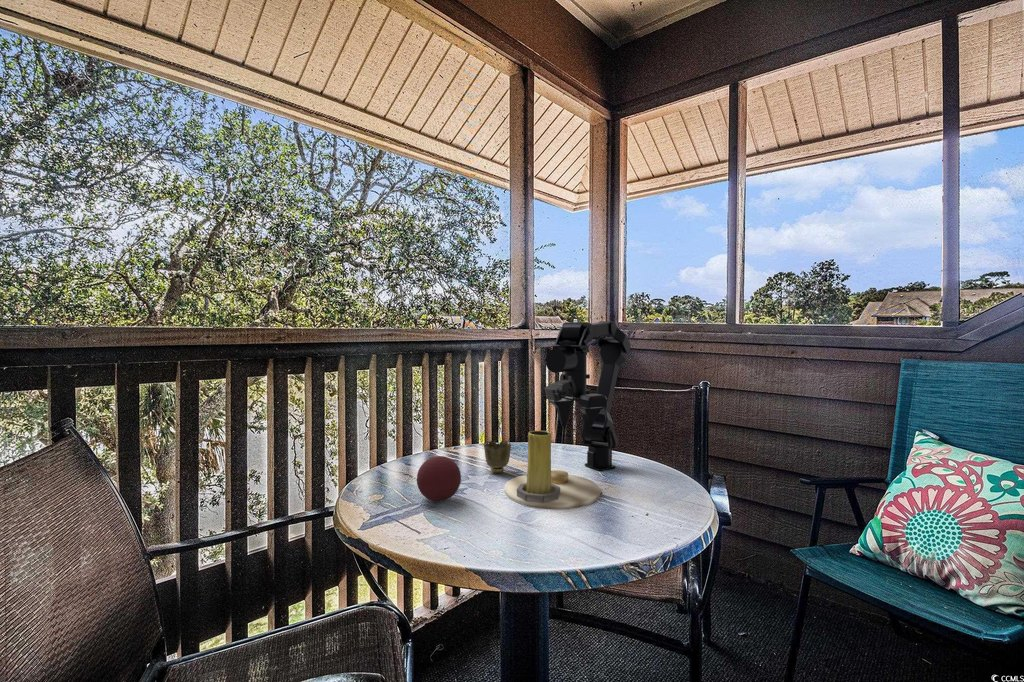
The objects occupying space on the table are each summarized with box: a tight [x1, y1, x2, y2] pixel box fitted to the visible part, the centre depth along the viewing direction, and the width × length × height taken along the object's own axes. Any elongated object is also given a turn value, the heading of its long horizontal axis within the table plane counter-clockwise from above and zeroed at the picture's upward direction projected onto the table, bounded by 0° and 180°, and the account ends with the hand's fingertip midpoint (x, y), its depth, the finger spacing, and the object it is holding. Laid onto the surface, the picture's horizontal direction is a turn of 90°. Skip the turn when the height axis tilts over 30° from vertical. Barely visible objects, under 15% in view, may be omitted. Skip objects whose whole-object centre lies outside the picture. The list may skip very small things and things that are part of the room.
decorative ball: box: [416, 455, 462, 502], centre depth 108 cm, size 10×10×10 cm
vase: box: [526, 430, 552, 494], centre depth 109 cm, size 6×6×14 cm
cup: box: [483, 440, 512, 475], centre depth 130 cm, size 8×7×8 cm
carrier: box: [504, 469, 601, 510], centre depth 115 cm, size 23×23×3 cm
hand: (574, 430), depth 123 cm, fingers open, 9 cm apart
